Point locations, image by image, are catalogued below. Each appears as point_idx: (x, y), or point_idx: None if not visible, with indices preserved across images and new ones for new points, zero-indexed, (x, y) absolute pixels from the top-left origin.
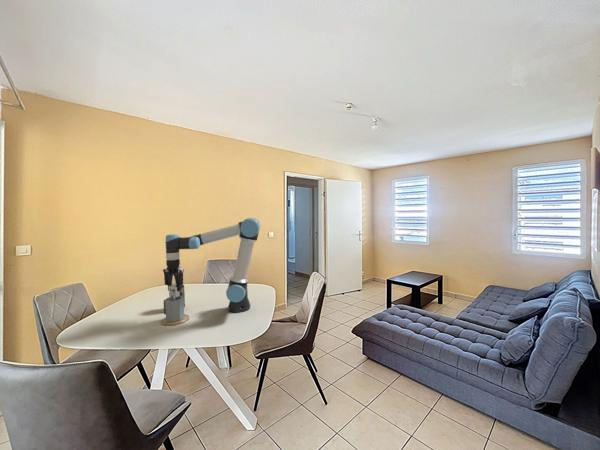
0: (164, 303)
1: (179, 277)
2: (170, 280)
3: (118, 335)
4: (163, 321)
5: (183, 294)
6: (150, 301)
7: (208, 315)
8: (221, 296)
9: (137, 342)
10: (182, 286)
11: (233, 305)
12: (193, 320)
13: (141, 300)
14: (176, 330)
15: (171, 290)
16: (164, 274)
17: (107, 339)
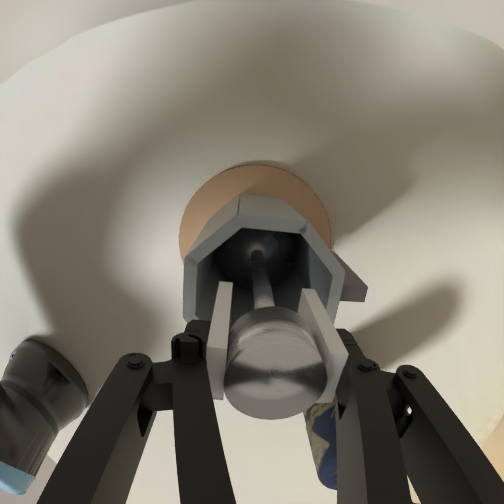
0: (351, 276)
1: (86, 464)
2: (351, 436)
3: (418, 69)
4: (305, 204)
5: (308, 433)
6: (464, 398)
7: (114, 313)
8: None
9: (281, 3)
10: (321, 473)
11: (29, 362)
12: (149, 249)
13: (489, 393)
14: (165, 121)
15: (282, 309)
16: (494, 480)
17: (428, 42)
